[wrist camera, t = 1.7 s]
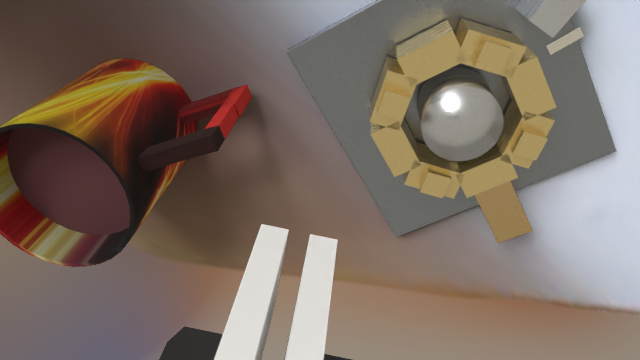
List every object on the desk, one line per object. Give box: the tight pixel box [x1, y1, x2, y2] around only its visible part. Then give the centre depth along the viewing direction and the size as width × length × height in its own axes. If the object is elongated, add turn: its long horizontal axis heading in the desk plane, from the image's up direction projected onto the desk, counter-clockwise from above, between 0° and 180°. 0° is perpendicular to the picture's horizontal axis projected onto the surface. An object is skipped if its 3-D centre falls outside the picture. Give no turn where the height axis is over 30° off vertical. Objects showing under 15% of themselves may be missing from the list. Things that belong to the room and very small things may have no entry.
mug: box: [0, 59, 252, 267], centre depth 34 cm, size 10×14×12 cm
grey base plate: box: [287, 0, 616, 237], centre depth 35 cm, size 17×18×5 cm
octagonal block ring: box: [369, 18, 556, 243], centre depth 35 cm, size 16×11×4 cm
